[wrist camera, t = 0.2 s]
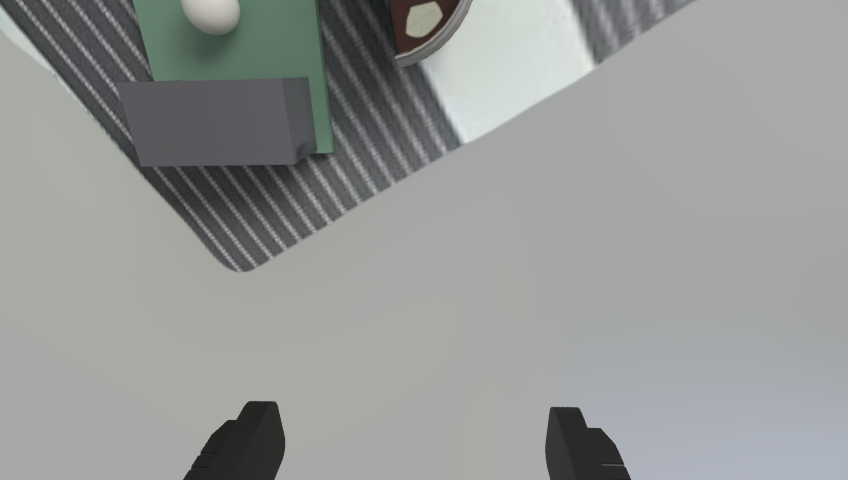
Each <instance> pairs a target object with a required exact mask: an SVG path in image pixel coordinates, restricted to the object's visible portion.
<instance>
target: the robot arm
mask: <svg viewBox="0 0 848 480" xmlns="http://www.w3.org/2000/svg"><path fill="white" fill-rule="evenodd" d="M284 451H285V436H284V431H283V427H282V423H281V418H280V414H279V410H278V405H277V403H276V402H274V401H273V402H272V401H249V402H248V403H247V404H246V405H245V406H244V408H243V410H242V411H241V413H240V415H239V416H238V418H237V420H228V421H226V422H225V423H224V424H223V425H222V426H221V427H220V428H219V429H218V430H216V431H215V432H214V433H213V434H212V435H211V437H210V438H209V440H208V441H207V443H206V444H205V446H204V448H203V449H202V451H201V454H200V456H198V457H197V459H196V460H195V462H194V463H193V465H192V468H191V470H189V471H188V473H187V474H186V476H185V478H184V479H183V480H274V479H275V477H276V474H277V472H278V469H279V467H280V464H281V462H282V459H283V456H284ZM545 453H546V462H547V468H548V472H549V476H550V480H631V479H630V476H629V474H628V472H627V469H626V467H624V463H623V460H622V458H621V456H620V454H619V451H618V449H617V447H616V445H615V444H614V443H613V441H612V440H611V439H610V438H609V437H608V436H607V435H606V434H605V433H604V432H603V430H602V429H601V428H587V425H586V423H585V420H584V418H583V415H582V413H581V411H580V409H579V408H578V407H551V408H550V413H549V420H548V429H547V436H546V445H545Z"/></svg>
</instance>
